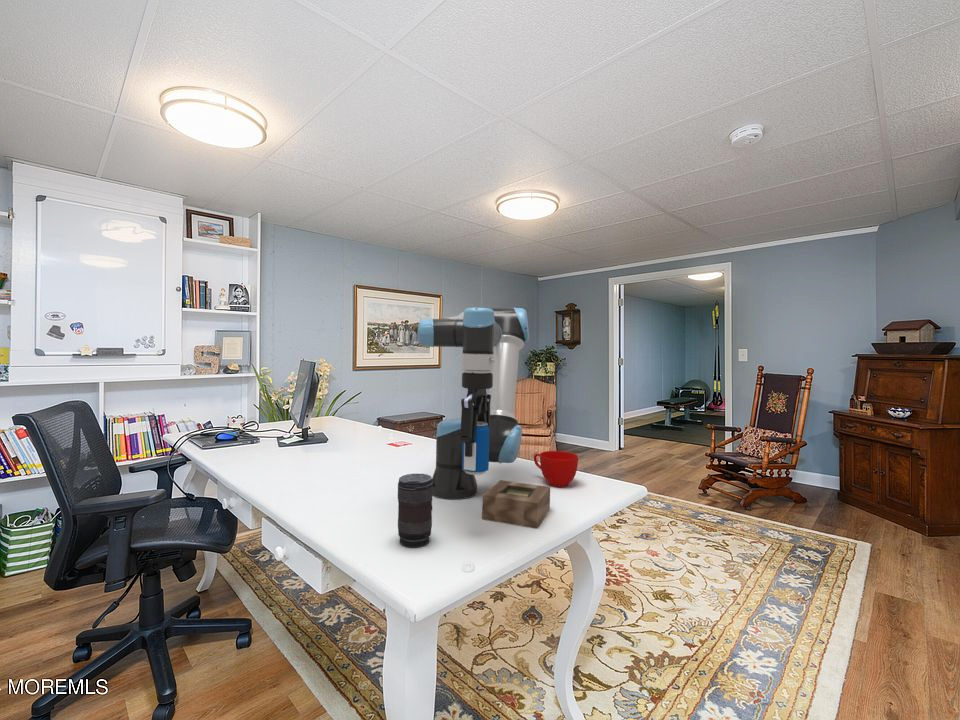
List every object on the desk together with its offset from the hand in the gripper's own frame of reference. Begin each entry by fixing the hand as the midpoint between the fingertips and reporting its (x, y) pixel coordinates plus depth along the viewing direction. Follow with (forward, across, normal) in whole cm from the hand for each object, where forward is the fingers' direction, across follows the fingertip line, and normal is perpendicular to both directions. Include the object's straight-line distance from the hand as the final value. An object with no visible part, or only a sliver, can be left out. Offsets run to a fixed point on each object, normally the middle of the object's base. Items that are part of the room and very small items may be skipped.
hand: (475, 466), depth 107 cm
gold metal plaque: (+13, +17, -6) cm, 22 cm away
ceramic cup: (+17, +51, -9) cm, 55 cm away
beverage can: (+2, 0, 0) cm, 2 cm away
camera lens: (+17, -10, +11) cm, 22 cm away
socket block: (+17, +17, -6) cm, 25 cm away
